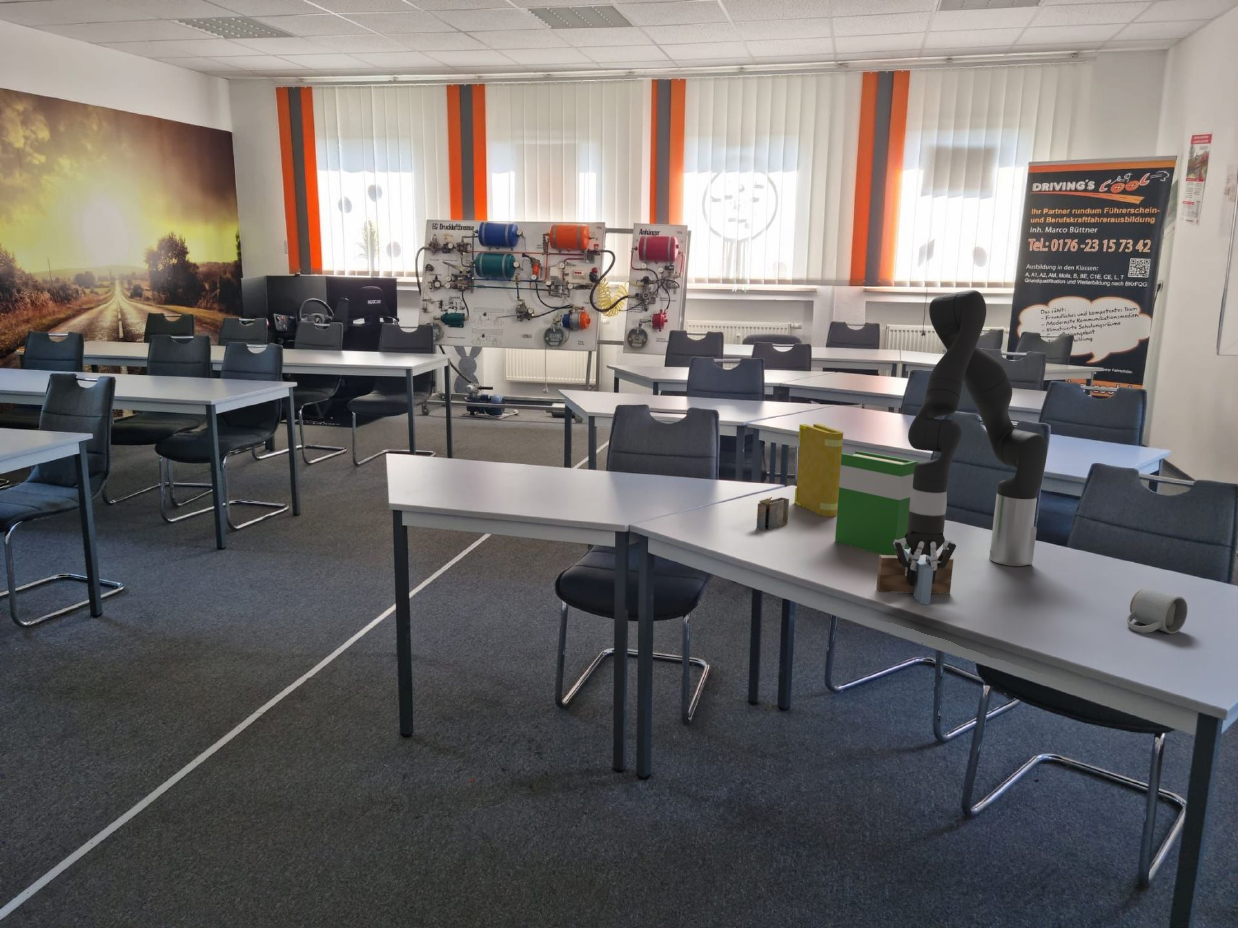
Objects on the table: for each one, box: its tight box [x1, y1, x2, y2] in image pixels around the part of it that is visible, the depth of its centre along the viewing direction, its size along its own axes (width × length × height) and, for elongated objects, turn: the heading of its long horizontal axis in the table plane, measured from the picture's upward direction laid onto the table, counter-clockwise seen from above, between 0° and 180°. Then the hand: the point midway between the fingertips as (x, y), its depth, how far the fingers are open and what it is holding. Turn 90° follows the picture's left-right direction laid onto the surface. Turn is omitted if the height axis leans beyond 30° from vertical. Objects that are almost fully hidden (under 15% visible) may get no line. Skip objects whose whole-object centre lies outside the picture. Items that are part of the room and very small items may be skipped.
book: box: [794, 423, 844, 517], centre depth 267 cm, size 17×7×25 cm, turn 17°
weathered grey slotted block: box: [756, 496, 790, 531], centre depth 249 cm, size 11×3×10 cm, turn 135°
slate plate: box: [904, 549, 933, 605], centre depth 197 cm, size 14×2×8 cm, turn 0°
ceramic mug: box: [1126, 588, 1188, 635], centre depth 180 cm, size 11×8×8 cm
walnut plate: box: [876, 554, 954, 594], centre depth 198 cm, size 16×2×8 cm, turn 90°
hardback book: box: [834, 450, 919, 555], centre depth 230 cm, size 18×7×24 cm, turn 43°
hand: (920, 584), depth 195 cm, fingers open, 3 cm apart
